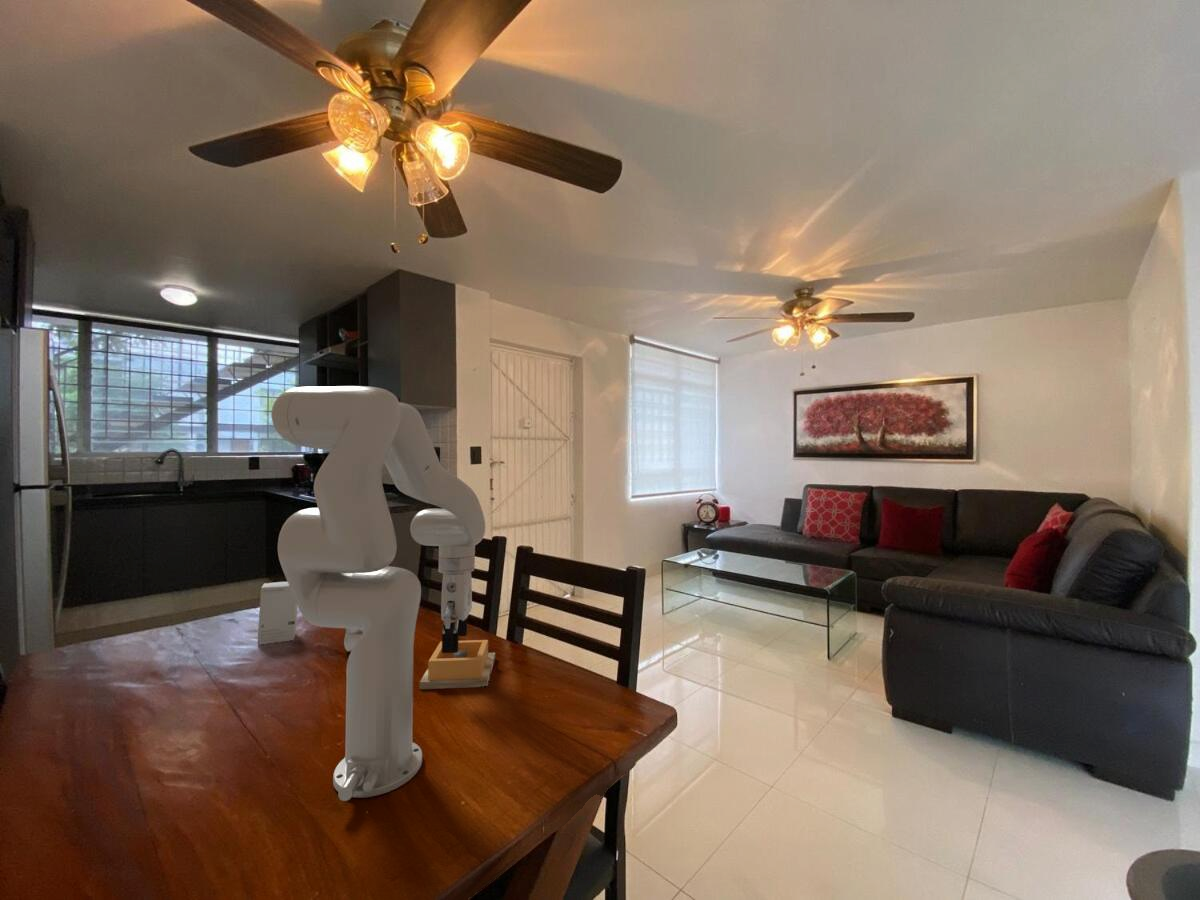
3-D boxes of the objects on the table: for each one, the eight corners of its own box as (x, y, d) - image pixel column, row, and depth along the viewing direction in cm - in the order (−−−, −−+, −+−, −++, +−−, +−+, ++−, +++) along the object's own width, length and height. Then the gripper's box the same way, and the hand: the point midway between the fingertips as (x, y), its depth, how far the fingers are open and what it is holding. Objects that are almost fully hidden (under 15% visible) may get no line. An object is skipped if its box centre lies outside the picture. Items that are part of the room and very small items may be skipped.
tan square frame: (480, 678, 101) (480, 659, 101) (428, 680, 100) (428, 661, 100) (487, 656, 112) (488, 639, 112) (440, 658, 111) (440, 641, 111)
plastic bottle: (378, 645, 122) (379, 568, 123) (362, 656, 116) (363, 574, 116) (354, 644, 123) (355, 567, 123) (337, 655, 116) (339, 573, 117)
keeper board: (487, 686, 101) (487, 665, 101) (419, 689, 99) (419, 667, 100) (495, 658, 115) (495, 640, 115) (435, 660, 113) (436, 641, 113)
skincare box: (257, 646, 121) (258, 588, 121) (261, 638, 127) (262, 582, 127) (295, 640, 125) (296, 584, 125) (298, 633, 130) (299, 579, 131)
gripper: (467, 572, 94) (465, 659, 94) (480, 556, 111) (478, 629, 111) (428, 572, 93) (426, 660, 93) (447, 556, 111) (446, 630, 110)
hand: (454, 643), depth 102 cm, fingers open, 9 cm apart
